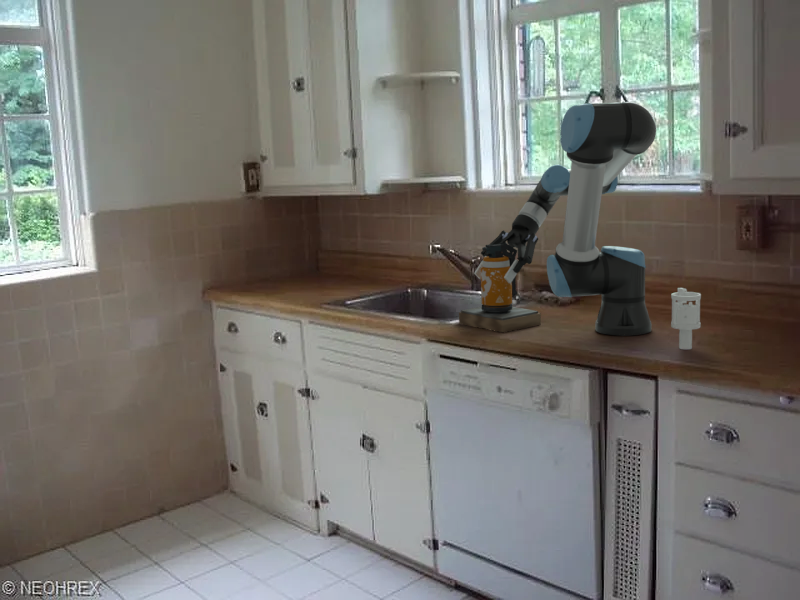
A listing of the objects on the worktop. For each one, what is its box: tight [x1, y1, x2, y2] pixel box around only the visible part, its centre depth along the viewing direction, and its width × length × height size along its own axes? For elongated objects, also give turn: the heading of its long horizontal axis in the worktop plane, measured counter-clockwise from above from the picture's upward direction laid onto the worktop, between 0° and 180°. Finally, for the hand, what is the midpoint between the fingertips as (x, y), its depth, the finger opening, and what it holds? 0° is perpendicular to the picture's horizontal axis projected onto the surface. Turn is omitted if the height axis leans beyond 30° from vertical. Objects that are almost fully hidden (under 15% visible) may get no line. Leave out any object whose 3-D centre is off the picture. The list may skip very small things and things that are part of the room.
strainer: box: [670, 287, 702, 351], centre depth 233 cm, size 7×7×15 cm
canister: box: [480, 242, 518, 313], centre depth 270 cm, size 9×11×20 cm
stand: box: [458, 306, 542, 333], centre depth 273 cm, size 19×15×4 cm
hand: (491, 278), depth 269 cm, fingers open, 12 cm apart
